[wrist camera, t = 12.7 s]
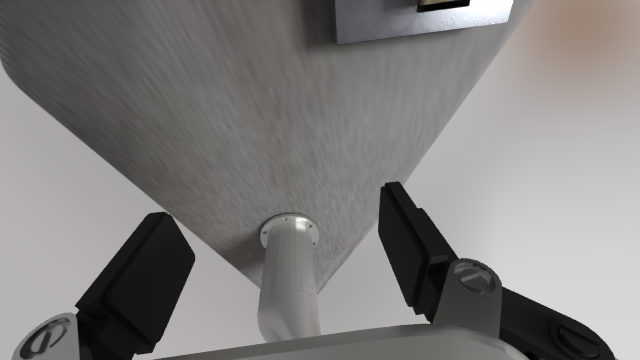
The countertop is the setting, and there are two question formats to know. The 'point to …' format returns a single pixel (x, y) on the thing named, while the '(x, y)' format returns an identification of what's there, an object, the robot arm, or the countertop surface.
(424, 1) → the peg
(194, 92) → the countertop surface
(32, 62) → the countertop surface
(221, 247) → the countertop surface
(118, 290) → the robot arm
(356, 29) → the rail
